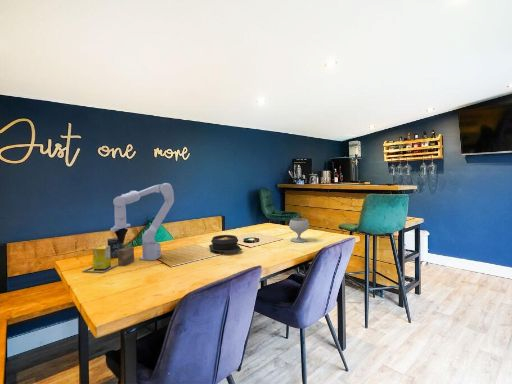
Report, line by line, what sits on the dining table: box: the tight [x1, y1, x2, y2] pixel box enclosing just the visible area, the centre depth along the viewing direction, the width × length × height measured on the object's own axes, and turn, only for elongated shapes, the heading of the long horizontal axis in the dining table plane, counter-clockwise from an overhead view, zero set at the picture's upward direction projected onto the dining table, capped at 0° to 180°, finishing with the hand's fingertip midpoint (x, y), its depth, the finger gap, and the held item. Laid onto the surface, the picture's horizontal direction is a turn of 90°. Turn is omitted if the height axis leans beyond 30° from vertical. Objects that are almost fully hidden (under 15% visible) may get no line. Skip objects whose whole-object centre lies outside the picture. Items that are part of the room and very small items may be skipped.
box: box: [106, 237, 125, 259], centre depth 164 cm, size 8×6×11 cm
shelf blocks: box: [110, 246, 135, 267], centre depth 152 cm, size 18×8×8 cm, turn 80°
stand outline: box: [81, 264, 119, 274], centre depth 142 cm, size 11×11×1 cm
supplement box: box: [92, 245, 112, 271], centre depth 143 cm, size 6×6×11 cm
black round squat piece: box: [208, 234, 242, 254], centre depth 176 cm, size 25×19×8 cm
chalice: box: [288, 218, 310, 243], centre depth 201 cm, size 14×14×15 cm
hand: (121, 242), depth 157 cm, fingers closed
